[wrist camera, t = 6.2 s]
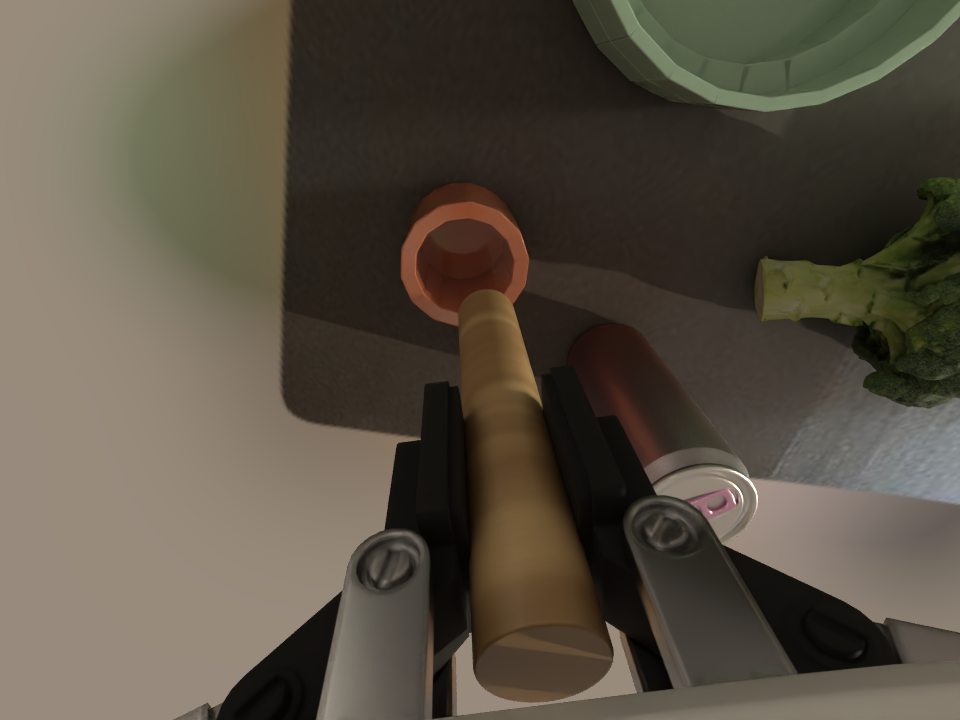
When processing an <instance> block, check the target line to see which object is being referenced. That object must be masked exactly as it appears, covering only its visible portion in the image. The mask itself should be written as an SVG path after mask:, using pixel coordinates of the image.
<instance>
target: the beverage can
mask: <svg viewBox="0 0 960 720" xmlns="http://www.w3.org/2000/svg"><path fill="white" fill-rule="evenodd" d="M567 365H573V367H574V368H575V371H576V373H577V375H578V378H579V380H580V382H581V384H582V387H583V389H584V391H585V393H586V396H587V398H588V400H589V403H590V405H591V407H592V409H593V412H594V414H595V416H596V417H601V416H609V415H615V416H617V418H618V419H619V421H620V423H621V425H622V427H623V429H624V431H625V433H626V435H627V437H628V439H629V441H630V443H631V445H632V446H633V448H634V450H635V452H636V454H637V456H638V458H639V460H640V462H641V464H642V466H643V468H644V470H645V472H646V474H647V476H648V478H649V480H650V482H651V484H652V486H653V488H654V490H655V492H656V494H657V495H667V496H671V497H676V498H679V499H681V500H684V501H686V502H688V503H690V504H691V505H693V506H694V507H696V508H697V509H698V510H700V511H701V512H702V514H703V515H704V516H705V517H706V519H707V520H708V521H709V523H710V525H711V526H712V528H713V530H714V532H715V533H716V535H717V537H718V538H719V540H720V542H721V543H722V545H725V544H727V543H728V542H730V541H732V540H733V539H734V538H736V537H737V536H738V535H739V534H741V533H742V532H743V530H745V528H746V527H747V526H748V525H749V523H750V522H751V520H752V519H753V517H754V515H755V512H756V509H757V503H758V497H757V492H756V489H755V487H754V485H753V483H752V482H751V481H750V479H749V475H748V472H747V469H746V468H745V466H744V464H743V463H742V462H741V460H740V459H739V458H738V457H737V455H736V454H735V453H734V451H733V450H732V449H731V448H730V446H729V445H728V444H727V442H726V441H725V440H724V439H723V437H722V436H721V435H720V433H719V432H718V431H717V430H716V428H715V427H714V426H713V424H712V423H711V422H710V421H709V419H708V418H707V417H706V415H705V414H704V413H703V412H702V410H701V409H700V408H699V406H698V405H697V404H696V402H695V401H694V400H693V399H692V397H691V396H690V395H689V393H688V392H687V391H686V390H685V388H684V387H683V386H682V384H681V383H680V382H679V381H678V379H677V378H676V377H675V375H674V374H673V373H672V372H671V370H670V369H669V368H668V366H667V365H666V364H665V363H664V361H663V360H662V359H661V357H660V356H659V355H658V353H657V352H656V351H655V350H654V348H653V347H652V346H651V344H650V343H649V342H648V341H647V339H646V338H645V337H644V336H643V334H642V333H640V332H639V331H638V330H636V329H635V328H633V327H630V326H627V325H623V324H606V325H602V326H598V327H596V328H593V329H591V330H590V331H588V332H586V333H585V334H584V335H582V336H581V337H580V338H579V339H578V340H577V342H576V343H575V344H574V346H573V347H572V349H571V351H570V353H569V356H568V360H567Z"/></svg>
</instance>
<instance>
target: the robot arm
mask: <svg viewBox="0 0 960 720" xmlns="http://www.w3.org/2000/svg"><path fill="white" fill-rule="evenodd" d="M541 390H542V405H543V413H544V417H545V420H546V423H547V427H548V430H549V434H550V437H551V441H552V444H553V448H554V451H555V455H556V458H557V462H558V465H559V469H560V472H561V476H562V479H563V482H564V486H565V489H566V493H567V496H568V500H569V503H570V507H571V510H572V514H573V517H574V521H575V524H576V528H577V531H578V535H579V538H580V541H581V543H582V545H583V547H584V550H585V554H586V557H587V561H588V564H589V567H590V571H591V574H592V578H593V581H594V585H595V588H596V591H597V595H598V598H599V602H600V605H601V609H602V612H603V615H604V619H605V621H606V622H608V623H609V624H611V625H612V626H614V627H615V628H617V629H618V630H619V631H620V639H621V642H622V645H623V649H624V652H625V655H626V658H627V662H628V665H629V668H630V672H631V675H632V678H633V682H634V685H635V688H636V691H637V694H629V695H620V696H612V697H604V698H596V699H588V700H580V701H572V702H564V703H556V704H548V705H540V706H532V707H524V708H517V709H508V710H500V711H492V712H484V713H476V714H468V715H461V716H457V693H456V657H455V652H456V651H457V650H458V648H459V647H460V646H461V645H462V644H463V643H464V641H465V640H466V639H467V638H468V637H469V633H472V630H471V607H470V583H469V559H470V534H469V513H468V492H467V471H466V450H465V429H464V418H463V412H462V406H461V400H460V394H459V388H458V386H454V387H450V385H449V382H448V381H446V382H438V383H430V384H425V390H424V403H423V416H422V429H421V440H417V441H410V442H402V443H398V444H397V448H396V454H395V461H394V467H393V475H392V482H391V488H390V495H389V502H388V510H387V517H386V523H385V530H384V531H381V532H378V533H377V534H375V535H372V536H371V537H369V538H368V539H366V540H365V541H364V542H363V543H361V544H360V545H359V546H358V548H357V549H356V550H355V552H354V553H353V554H352V556H351V558H350V561H349V564H348V566H347V571H346V576H345V581H344V586H343V590H342V591H341V592H340V593H339V594H338V595H337V596H335V597H334V598H333V599H332V600H331V601H330V602H329V603H327V604H326V605H325V606H324V607H323V608H322V609H321V610H320V611H318V612H317V613H316V614H315V615H314V616H313V617H312V618H310V619H309V620H308V621H307V622H306V623H305V624H303V625H302V626H301V627H300V628H299V629H298V630H297V631H295V632H294V633H293V634H292V635H291V636H290V637H288V638H287V639H286V640H285V641H284V642H283V643H282V644H280V645H279V646H278V647H277V648H276V649H275V650H274V651H272V652H271V653H270V654H269V655H268V656H267V657H266V658H264V659H263V660H262V661H261V662H260V663H259V664H258V665H257V666H255V667H254V668H253V669H252V670H251V671H250V672H248V673H247V674H246V675H245V676H244V677H243V678H242V679H241V680H240V681H239V682H238V683H237V684H236V685H235V686H234V687H233V688H232V690H231V691H230V693H229V694H228V696H227V697H226V699H225V701H224V702H223V703H221V704H219V705H217V706H215V707H213V708H211V707H210V705H209V704H208V703H206V704H204V705H202V706H200V707H198V708H196V709H194V710H192V711H190V712H188V713H186V714H184V715H182V716H180V717H178V718H176V719H174V720H960V633H958V632H953V631H949V630H943V629H939V628H934V627H929V626H924V625H919V624H915V623H910V622H905V621H900V620H895V619H890V618H886V619H885V621H884V623H883V624H880V623H875V622H872V621H871V620H870V619H869V618H868V617H866V616H865V615H864V614H863V613H862V612H861V611H859V610H857V609H856V608H854V607H852V606H850V605H849V604H847V603H845V602H844V601H842V600H839V599H837V598H835V597H833V596H831V595H829V594H827V593H825V592H823V591H820V590H818V589H816V588H814V587H812V586H810V585H808V584H805V583H803V582H801V581H799V580H797V579H795V578H793V577H790V576H788V575H786V574H784V573H782V572H780V571H778V570H776V569H773V568H771V567H769V566H767V565H765V564H763V563H761V562H758V561H756V560H754V559H752V558H750V557H748V556H746V555H743V554H741V553H739V552H737V551H734V550H733V549H731V548H728V547H726V546H724V545H722V543H721V542H720V540H719V538H718V537H717V535H716V533H715V532H714V530H713V528H712V526H711V525H710V523H709V521H708V520H707V519H706V517H705V516H704V515H703V514H702V512H701V511H700V510H698V509H697V508H696V507H694V506H693V505H691V504H690V503H688V502H686V501H684V500H681V499H679V498H676V497H671V496H667V495H657V494H656V492H655V490H654V488H653V486H652V484H651V482H650V480H649V478H648V476H647V474H646V472H645V470H644V468H643V466H642V464H641V462H640V460H639V458H638V456H637V454H636V452H635V450H634V448H633V446H632V445H631V443H630V441H629V439H628V437H627V435H626V433H625V431H624V429H623V427H622V425H621V423H620V421H619V419H618V418H617V416H615V415H609V416H601V417H596V416H595V414H594V412H593V409H592V407H591V405H590V403H589V400H588V398H587V396H586V393H585V391H584V389H583V387H582V384H581V382H580V380H579V378H578V375H577V373H576V371H575V368H574V367H573V365H567V366H560V367H552V368H549V374H545V375H541Z"/></svg>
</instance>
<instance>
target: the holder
mask: <svg viewBox="0 0 960 720" xmlns="http://www.w3.org/2000/svg"><path fill="white" fill-rule="evenodd" d="M528 265H529V256H528V253H527V250H526V247H525V244H524V241H523V238H522V235H521V232H520V230H519V228H518V226H517V224H516V222H515V220H514V218H513V215H512V213H511V211H510V210H509V208H508V207H507V206H506V205H505V204H504V202H503V201H502V200H501V199H500V198H499V197H498V196H497V195H496V194H495V193H493V192H492V191H491V190H489V189H487V188H485V187H483V186H480V185H477V184H473V183H465V182H459V183H451V184H447V185H444V186H441V187H439V188H437V189H436V190H434V191H432V192H431V193H430V194H428V195H427V196H426V197H425V198H424V199H423V200H422V201H421V202H420V203H419V205H418V207H417V209H416V210H415V212H414V215H413V217H412V218H411V220H410V222H409V226H408V229H407V232H406V235H405V238H404V241H403V245H402V249H401V272H400V275H401V279H402V281H403V284H404V286H405V288H406V290H407V292H408V294H409V296H410V298H411V301H412V302H413V303H414V304H415V305H417V306H418V307H419V308H420V309H421V310H423V311H424V312H425V313H426V314H427V315H429V316H430V317H431V318H432V319H434V320H437V321H440V322H444V323H448V324H451V325H455V326H458V312H459V308H460V306H461V304H462V302H463V301H464V300H465V298H466V297H468V296H469V295H470V294H472V293H474V292H476V291H479V290H484V289H490V290H495V291H498V292H501V293H502V294H504V295H505V296H506V297H508V299H509V300H510V301H511V303H512V305H513V303H514V302H515V301H516V299H517V298H518V296H519V295H520V293H521V292H522V290H523V289H524V286H525V285H526V278H527V272H528ZM458 327H459V326H458Z"/></svg>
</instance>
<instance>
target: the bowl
mask: <svg viewBox="0 0 960 720" xmlns="http://www.w3.org/2000/svg"><path fill="white" fill-rule="evenodd" d="M572 1H573V3H574V5H575V7H576V9H577V11H578V13H579V15H580V16H581V18H582V20H583V22H584V24H585V26H586V28H587V30H588V31H589V33H590V35H591V37H592V39H593V41H594V43H595V45H597V48H598V49H599V50H600V51H601V52H602V53H603V54H604V55H605V56H606V57H607V58H608V59H609V60H610V61H611V62H612V63H613V64H614V65H615V66H616V67H617V68H618V69H619V70H620V71H621V72H622V73H623V74H624V75H625V76H626V77H627V78H628V79H629V80H630V81H632V82H633V83H635V84H637V85H639V86H641V87H643V88H645V89H647V90H649V91H651V92H652V93H654V94H656V95H658V96H660V97H662V98H664V99H666V100H668V101H671V102H677V103H683V104H690V105H696V106H702V107H708V108H718V109H732V110H745V111H758V112H770V111H777V110H784V109H791V108H798V107H805V106H812V105H819V104H822V103H825V102H827V101H829V100H832V99H834V98H837V97H839V96H841V95H844V94H846V93H849V92H851V91H853V90H856V89H858V88H861V87H863V86H865V85H868V84H870V83H873V82H875V81H877V80H879V79H880V78H882V77H883V76H885V75H886V74H888V73H889V72H891V71H892V70H893V69H895V68H896V67H898V66H899V65H901V64H902V63H904V62H905V61H906V60H908V59H909V58H911V57H912V56H914V55H915V54H917V53H918V52H919V51H921V50H922V49H924V48H925V47H927V46H928V45H930V44H931V43H932V42H934V41H935V40H936V39H937V38H938V37H939V36H940V35H941V34H942V33H943V32H944V31H945V30H946V29H947V28H948V27H949V26H950V25H951V24H952V23H953V22H954V21H955V20H956V19H957V18H958V17H959V16H960V0H572Z"/></svg>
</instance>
